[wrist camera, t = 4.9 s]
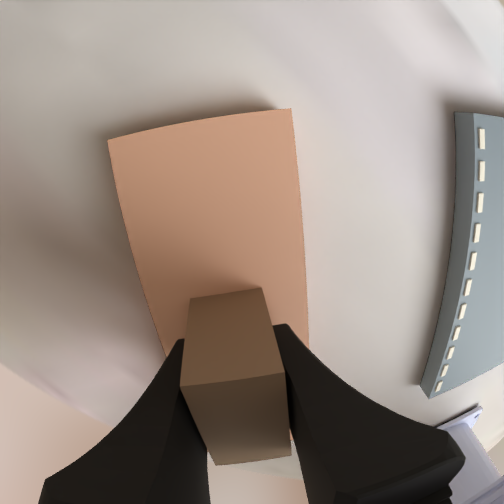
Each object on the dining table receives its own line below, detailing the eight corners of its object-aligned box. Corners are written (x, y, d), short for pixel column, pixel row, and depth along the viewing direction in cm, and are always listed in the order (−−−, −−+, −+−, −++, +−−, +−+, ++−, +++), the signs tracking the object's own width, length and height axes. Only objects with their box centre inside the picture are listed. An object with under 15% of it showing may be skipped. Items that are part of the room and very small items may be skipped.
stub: (305, 422, 15) (327, 499, 10) (207, 437, 15) (209, 516, 10) (284, 110, 9) (343, 96, 5) (117, 138, 9) (36, 152, 4)
